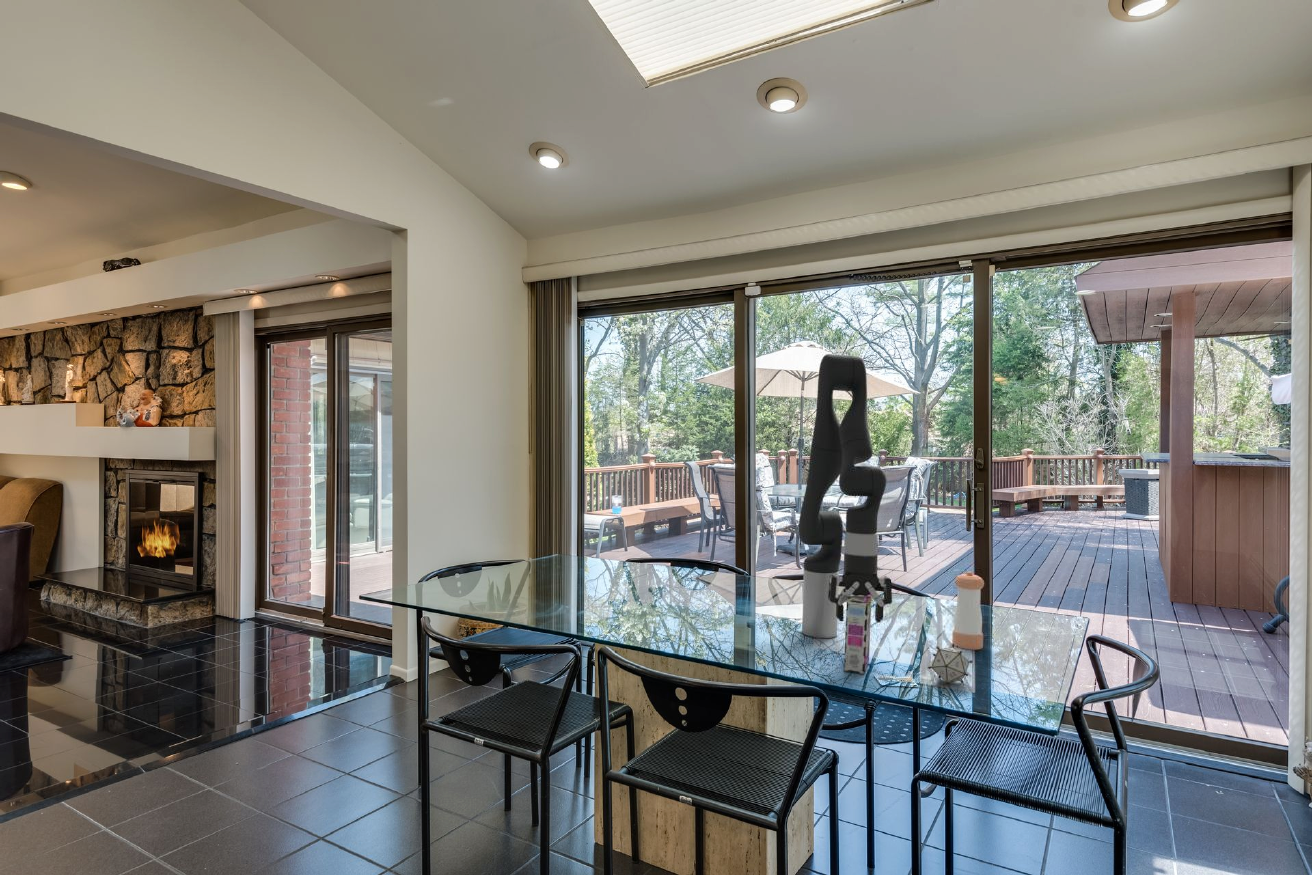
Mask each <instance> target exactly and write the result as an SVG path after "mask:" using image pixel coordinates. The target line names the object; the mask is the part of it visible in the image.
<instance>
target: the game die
mask: <svg viewBox="0 0 1312 875" xmlns="http://www.w3.org/2000/svg"><path fill="white" fill-rule="evenodd" d="M955 647H956V646H955V645H954V644H951V647H945V648H940V647H939V646H936V649H937V651H936V653H932V656H933V657H934V658H933V661H932V663H931V666H927V669H928V670H931V669H932V670H933V671H934V672H935V674H937V675H938V679H942V680H943V681H944V682H945V686H947V687H948V686H949V684H950V683H956V682H959V681H960V682H961V684H965V683H964V682H965V681H964V680H963V679H964V677H969V674H968V673H967V671H968V669H969V664H973V662H974V661H973V660H968V659H967V658H966V657H965V656H964V655H963V651H962V650H958V649H956V648H955Z"/></svg>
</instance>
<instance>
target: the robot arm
mask: <svg viewBox="0 0 1312 875" xmlns="http://www.w3.org/2000/svg"><path fill="white" fill-rule="evenodd" d="M867 376H868V374H867V368H866V364H865V361H864V359H863V358H862V357H861V356H859V355H858V356H857V355H852V354H851V355H850V354H837V353H835V354H834V353H826V354H825V355H824V356H822V358H821V360H820V364H819V370H818V377H817V378H818V380H817V393H816V395H817V399H816V412H815V418H814V419H815V420H814V427H813V434H812V438H811V439H812V440H811V446H810V452H809V454H810V455H809V463H808V464H809V465H808V472H807V480H806V487H805V491H804V496H803V500H802V501H803V502H802V506H801V509H800V510H801V511H800V513H799V520H798V536H799V537H798V538H799V540H800V541H801V542H802V544H803V545H806V546H821V547H820V548H819V550H818V551H817V552H814V554H812V555H809V556H807V557H806V558H804V561H803V584H802V586H803V587H802V588H803V589H802V590H803V592H802V617H801V618H802V619H801V622H802V626H801V627H802V628H801V633H802V634H803V635H805V636H808V637H812V638H819V639H830V638H835V637H837V635H838V620H839V622H844V612H845V610H844V608H845V607H844V603H845V602H847V599H848V598H849V597H850V595H851V594H852V595H854V596H859V595H862V596H868V595H871V596H872V599H873V600H874V601H875V603H876V604H875V607H874V608H875V611H874V613H875V614H874V620H875V622H876V623H881V621H883V619H884V607H885V606H887V605H891V604H892V603H893V594H892V593H893V592H892V590H893V589H892V588H893V586H892V579H891V578H890V577H888V576H887V575H886V576H884V577H879V576H878V558H879V557H878V552H879V544H878V542H879V541H878V515H879V511H880V506H881V503H882V499H883V497H884V493H885V491H886V487H887V476H886V473H885V471H884V470H883V469H882V468H881V467H879V466H873V465H872V466H869V465H868V466H866V465H865V466H864V465H863V466H862V465H858V464H862V463H865V462H867V461H869V460H870V459H872V456H873V455H874V454H873V453H874V452H873V450H874V449H873V445H872V440H871V436H870V435H871V434H870V430H869V422H868V420H869V419H868V381H867V380H868V379H867ZM834 391H840V392H850V393H851V395H852V400H851V404H850V405H849V408H848V410H847V411H846V413H845V415H844V416H843V418H842V420H841V422H840V420H839V418H838V416H837V414H836V410H835V408H834V407H835V406H834V402H833V401H834V400H833V399H834V398H833V397H834V395H833V394H834ZM838 478H839V480H838V486H839V489H840V491H841V492H842V494H844V495H845V496H848V497H866V500H865V501H864V502H863V503H862V504H859V505H854V506H849V508H847V509H846V514H845V536H844V524H843V520H842V517H841V515H840V513H839V512H837V511H836V510H821V506H822V502H823V500H824V498H825V496H826V494H827V492H828V491H829V489H831V486H832V485H833V484H834V483H835V482H836V481H837V479H838ZM843 537H844V544H843ZM843 545H844V546H843ZM842 548H844V549H843V573H842V576H839V574H840V564H841V560H842ZM841 582H842V584H843V586H844V588H842V590H841V591H840V593H839V586H840V583H841ZM879 583H880V586H881V587H883V597H882V598H881V597H880V595H879V594H878V592H877V591H876V587H877V586H878V585H879Z"/></svg>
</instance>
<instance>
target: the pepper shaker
mask: <svg viewBox="0 0 1312 875" xmlns="http://www.w3.org/2000/svg"><path fill="white" fill-rule="evenodd" d="M954 584H955V586H956V587H957V598H956V606H955V611H954V615H953V619H954V621H953V623H954V628H953V629H952V643H951V645H953V644H954V645H955V646H954V647H957V646H958V647H957V648H960V649H965V650H973V651H974V650H981V649H983V648H984V634H983V629H982V628H983V617H982V609H981V608H982V607H981V593H982V592H981V590H982V589H983V588H984V586H985V581H984V579H983V578H982V577H980V576H979V575H977V574H974V572H972V571H967V572H966V573H962V574H959V575H957V576H956V577H955V579H954Z"/></svg>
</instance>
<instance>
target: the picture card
mask: <svg viewBox="0 0 1312 875" xmlns="http://www.w3.org/2000/svg"><path fill="white" fill-rule="evenodd" d="M874 676H878V675H876V674H875V675H873V677H874ZM889 676H890V677H885V678H884V677H875V678H879V680H900V681H898V682H915V681H914V679H913V678H912V677H911V676H904V677H896V678H912V680H913V681H912V680H911V679H892V678H895V677H893V676H894V675H889ZM875 678H874V679H875ZM901 680H902V681H901ZM903 680H907V681H903ZM887 682H888V681H887ZM890 682H891V681H890ZM892 682H894V681H892ZM910 685H917V687H919V688H920V686H919V685H918V684H917V683H916V682H915V683H914V684H910Z"/></svg>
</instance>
